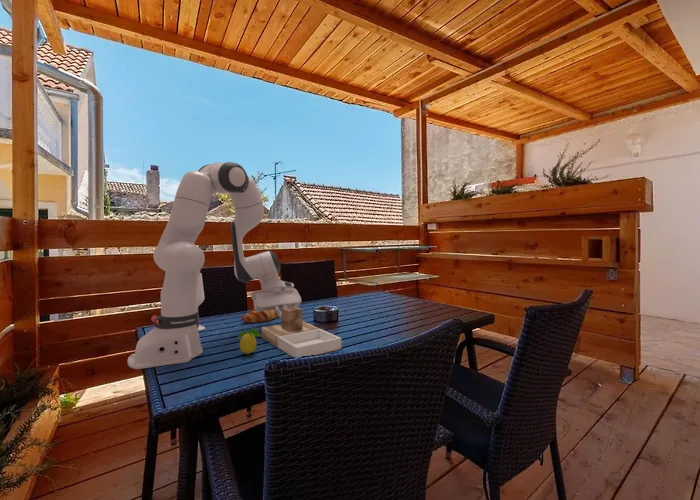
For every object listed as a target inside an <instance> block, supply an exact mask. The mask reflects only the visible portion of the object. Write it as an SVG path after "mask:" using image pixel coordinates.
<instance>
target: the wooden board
mask: <svg viewBox="0 0 700 500" xmlns="http://www.w3.org/2000/svg"><path fill="white" fill-rule="evenodd" d="M315 329H319V327H317V326H314V325H313V324H311V323H308V322H305V321H304V320H302V330H296V331H291V332H288V331H286V330H284V329H282V323H279V324H274V325H273V324H272V325H267V326H263V327H262V326H261V330H260V331H261V334H260V335H261V336H260V337H261V338H262V339H263V340H265V341H267V343H268V342H269V343H270V344H271V345H273V346H274V347H277V337H278V336H283V335H289V334H294V333H299V332H304V331H309V330H315Z"/></svg>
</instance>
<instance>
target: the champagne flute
mask: <svg viewBox="0 0 700 500" xmlns="http://www.w3.org/2000/svg"><path fill="white" fill-rule="evenodd" d="M205 300H206V299H205V291H204V282H203V275H202V273H201V272H200V274H199V279H198V285H197V312H198V313H199V306H201V305H202V303H203V302H204V301H205ZM205 329H206V327H205V326H204V325H201V324H199V327H198V331H202V330H205Z"/></svg>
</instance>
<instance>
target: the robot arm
mask: <svg viewBox="0 0 700 500" xmlns="http://www.w3.org/2000/svg"><path fill="white" fill-rule="evenodd" d="M214 193H217V194H228V195H229V197H230V198H231V199H232V203H233V209H234V214H235V216H234V219H233V220H232V222H230V234H231V245H232V252H233V253H232V254H233V259H234V260H233V262H234V264H233V270H234V276H235V277H236V279H237V280H238V281H240V282H242V283H245V284H246V283H249V282H252V281H254V280H256V279H258V281H259V282H260V287H261V290H257V291H256V290H255V291H253V292H251V294H250V297H251V300H252V301H253V309H254V308H255V310H256V311H257V312H262V311H269V310H274V312H275V313H277V314H278V315H279V316H278V317H279V318H280V319H282V308H288V307H299V306H300V305H301V303H302V297H301V295H300V293H299V291H298V290H297V289H296V288H294V287H295V284H294V283H293V282H288V281H284V280H281V278H280V277H279V273H280V271H281V266H282V265H281V263H280V261H279V259H278V255H277V254H276V253H275V252H274V251H272V250H267V251H264V252H260V253H257V254H254V255H251V256H248V257H246V256H244V245H243V239H244V237H245V236H246V234H247V233H248V232H249V231H252V230H253V229H254V228H255V227H257V226H258V225H260V223H261V222H262V221H263V219H264V216H265V207H264V203H263V200H262V196H261V193H260V191H259V189H258V187H257V183H256V182H255V181H254V179H253V178H252V177H250V176H249V175H248V173H247V172H246V169H245V168H244V167H243V166H242V165H240V164H239V163H236V162H233V161H228V162H214V163H208V164H206V165H203V166H202V167H200V168H199V169H198V170H191V171H187V172H185V173H184V174H183V176H182V178H181V180H180V182H179V184H178V187H177V189H176V192H175V195H174V196H175V197H174V200H173V204H172V207H171V211H170V216H169V218H168V221H167V222H166V223H167V224H166V226H165V228H164V230H163V232H162V234H161V237H160V239H159V241H158V243H157V246H156V247H155V248H154V250H153V255H152V257H153V261H154V263H155V264H156V266H158V268H159V269H160V270H162V271H164V279H163V284H162V287H161V288H162V289H161V290H160V314H159V315H158V316H157V315H156V314H155V315H152V316H151V318H150V319H151V321H152V322H153V323H154V327H153V328H152V329H151V330H149V331H148V332H147V333H146V334H144V335H143V336H142V337H141V338H139V340H138V341H137V342H136V343H137V344H136V345H135V346H136V347H135V352H134V353H131V354H130V355H129V356H128V357H127V361H126V362H127V366H128V367H130V369H135V370H141V369H148V368H155V367H161V366H162V367H163V366H167V365H168V366H169V365H175V364H176V365H177V364H183V363H184V364H185V363H189V362H190V361H191V360H193V359H194V358H196V357H198V356H200V355H201V354H202V353H203V352H204V350H203V346H202V344H201V343H202V342H201V339H200V335H199V330H198V327H199V325H200V316H199V311H198V312H197V285H198V279H199V274H200V273H201V270H202V268H203V267H204V265H205V259H206V258H205V257H206V256H205V253H204V251H203V250H202V248H200V247H199V246H198V245H196V244H195V243H196V241H197V239H198V236H199V235H200V233H201V232H202V231H203V229H204V227H205V223H206V219H207V215H208V212H209V207H210V202H211V198H212V196H213V195H214Z"/></svg>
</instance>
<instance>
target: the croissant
mask: <svg viewBox="0 0 700 500" xmlns="http://www.w3.org/2000/svg"><path fill="white" fill-rule="evenodd" d="M278 317H279V315H278V314H277V313H275V312H274V310H269V311H262V312H257V311H256V310H255V308H254V307H253V308H252V309H251V311H249V312H248V313H247V314H245V315H244V316H242V317H241V318H240V319H241V321H242V322H245V323H251V324H252V323H253V324H255V323H264V322H269V321H271V320H274V319H276V318H278Z"/></svg>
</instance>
